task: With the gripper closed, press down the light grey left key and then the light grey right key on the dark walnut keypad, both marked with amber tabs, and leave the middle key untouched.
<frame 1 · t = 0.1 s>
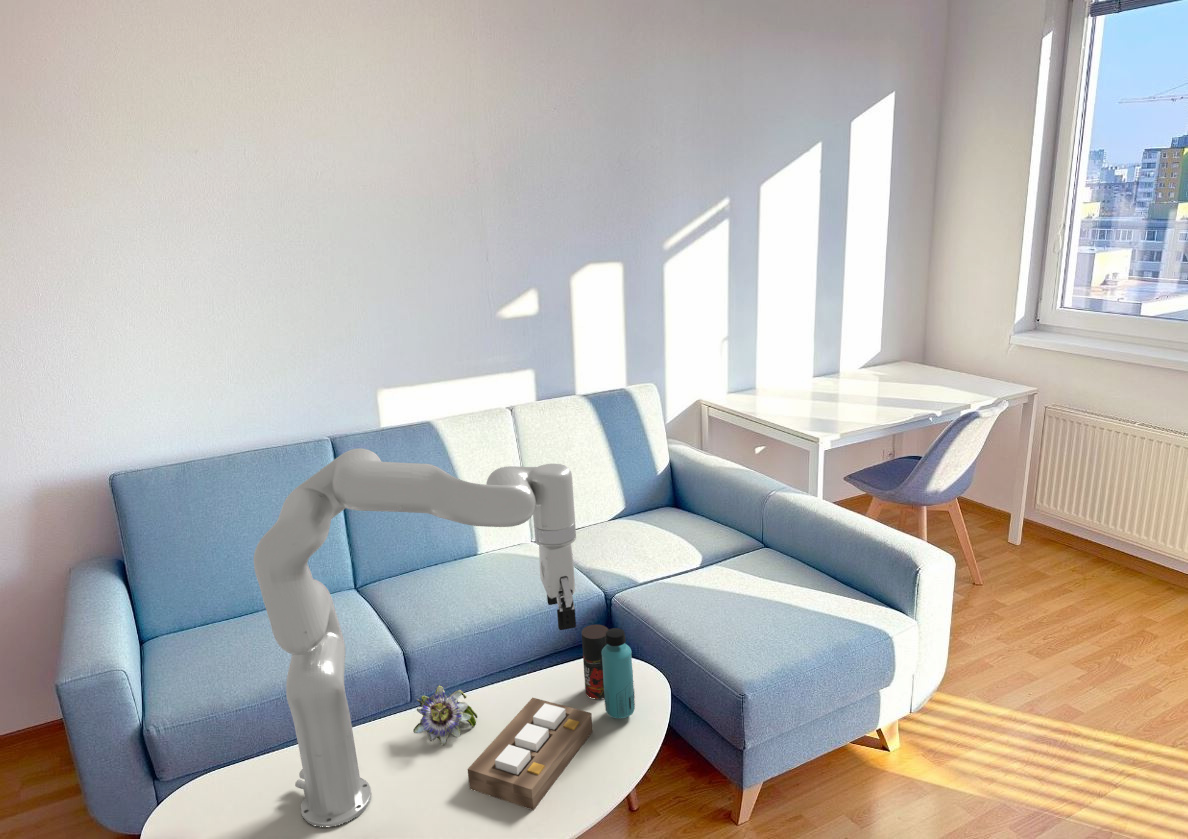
hand: (561, 615, 156), 31 cm above the table, tool pointing down, fingers open, 9 cm apart
key left: (513, 759, 157), point 5 cm above the table, slide at 0.0 cm
key right: (549, 716, 169), point 5 cm above the table, slide at 0.0 cm
key middle: (531, 737, 163), point 5 cm above the table, slide at 0.0 cm
keypad: (533, 759, 165), on the table
deodorant: (598, 692, 185), on the table
beverage bottle: (620, 716, 177), on the table
passion flower: (446, 731, 175), on the table
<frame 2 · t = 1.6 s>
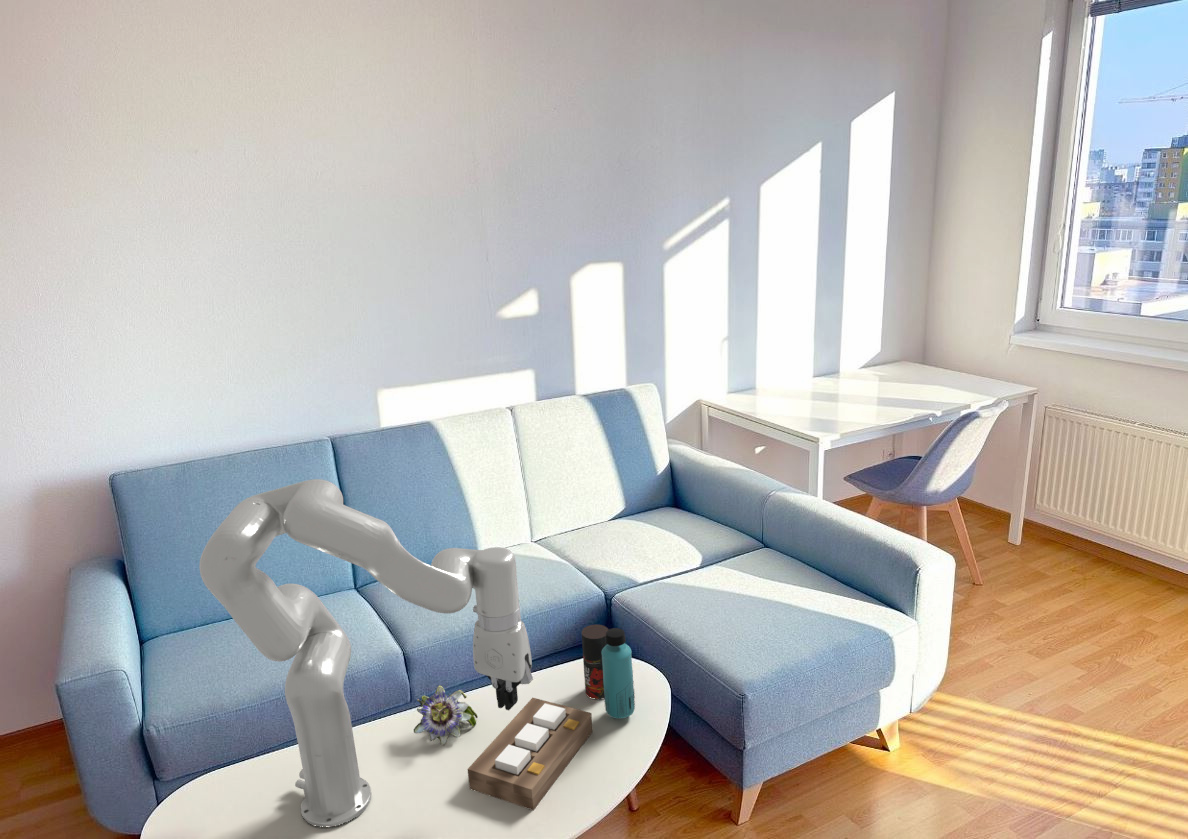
hand: (507, 704, 154), 17 cm above the table, tool pointing down, fingers closed
nothing on the table moved.
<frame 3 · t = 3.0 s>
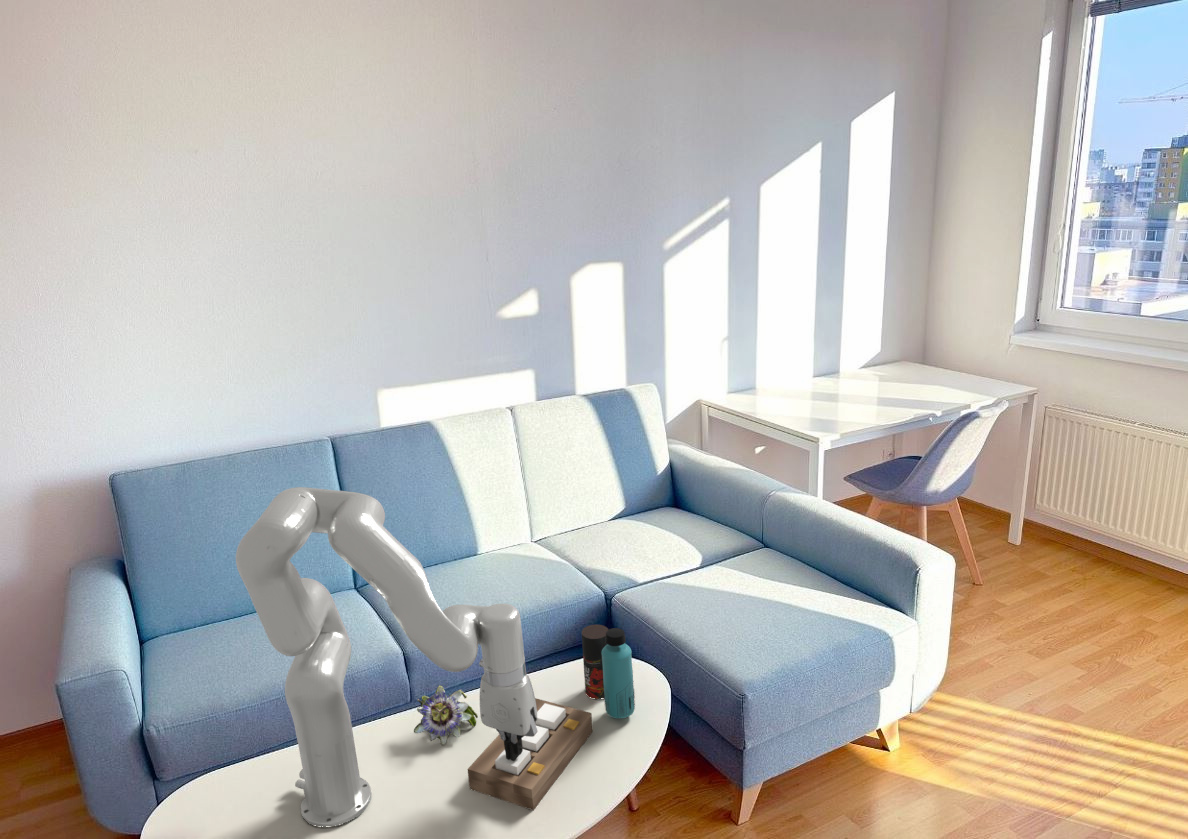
hand: (514, 755, 157), 6 cm above the table, tool pointing down, fingers closed
key left: (513, 759, 157), point 5 cm above the table, slide at 0.1 cm, touching gripper
everything else where it was.
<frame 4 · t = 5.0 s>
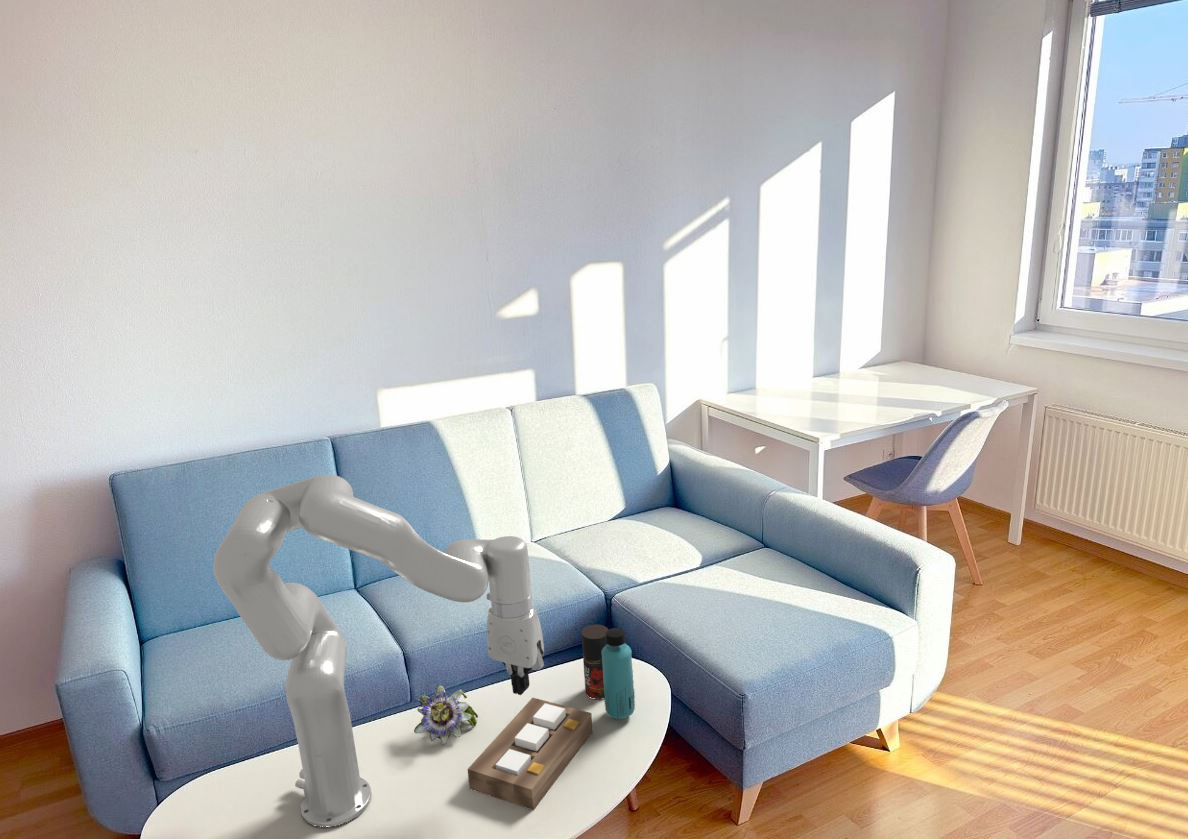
hand: (521, 690, 157), 17 cm above the table, tool pointing down, fingers closed
key left: (513, 763, 158), point 4 cm above the table, slide at 1.0 cm
everything else where it was.
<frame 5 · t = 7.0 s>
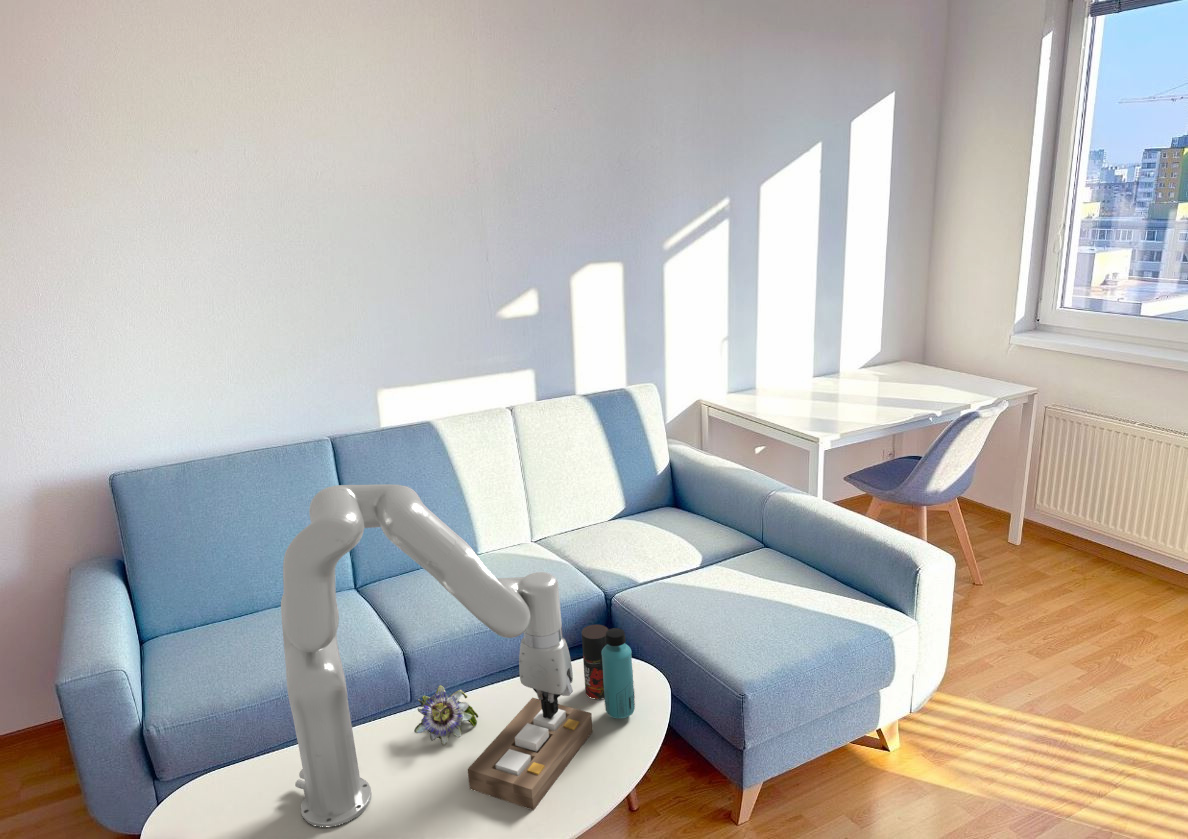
hand: (550, 714, 169), 6 cm above the table, tool pointing down, fingers closed
key right: (549, 718, 169), point 5 cm above the table, slide at 0.5 cm, touching gripper
everything else where it was.
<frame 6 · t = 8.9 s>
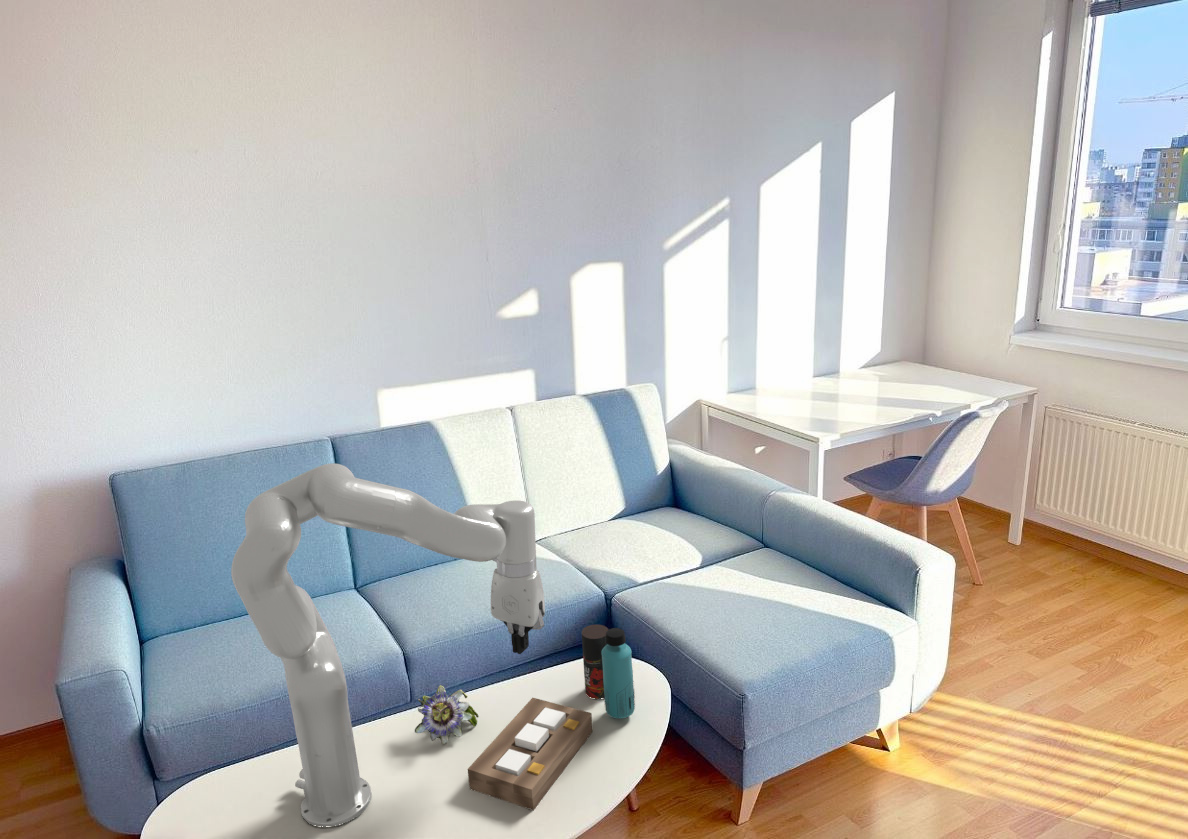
hand: (520, 649, 165), 21 cm above the table, tool pointing down, fingers closed
key right: (549, 720, 170), point 4 cm above the table, slide at 1.0 cm
everything else where it was.
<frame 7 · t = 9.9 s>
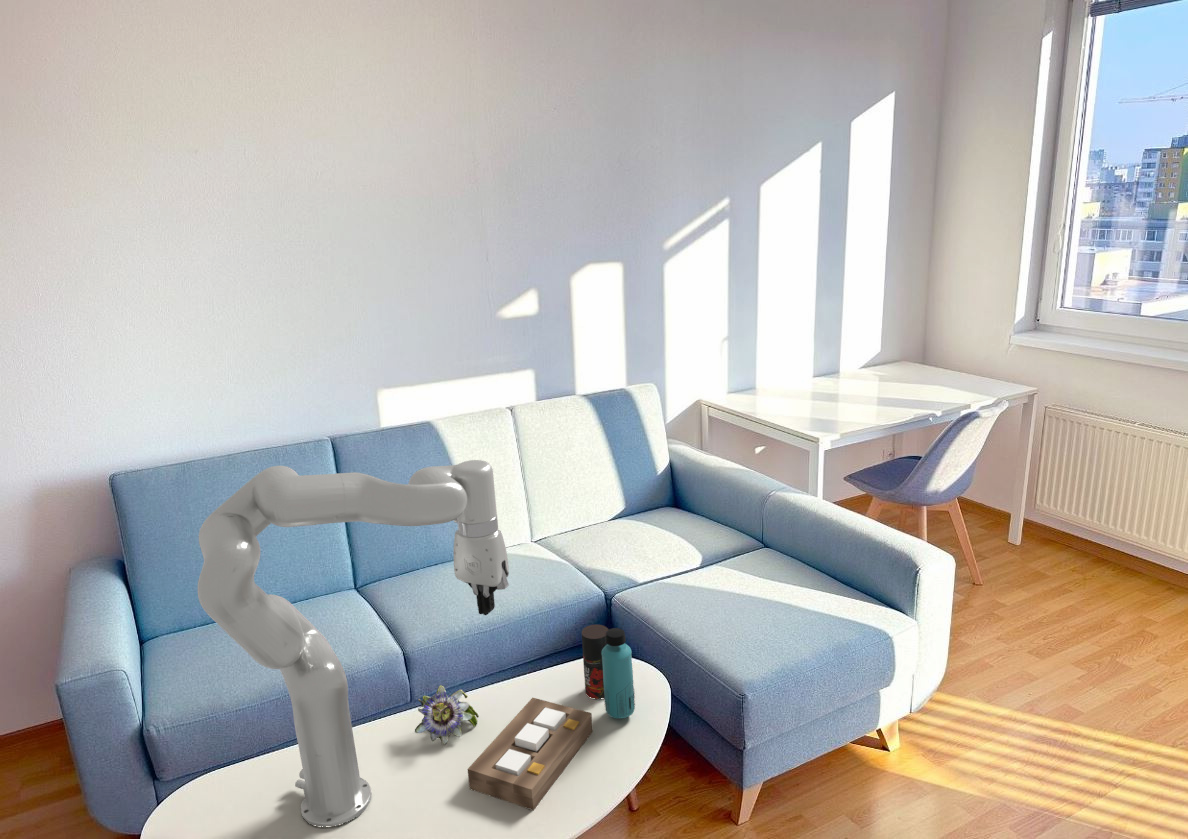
hand: (486, 611, 163), 29 cm above the table, tool pointing down, fingers closed
nothing on the table moved.
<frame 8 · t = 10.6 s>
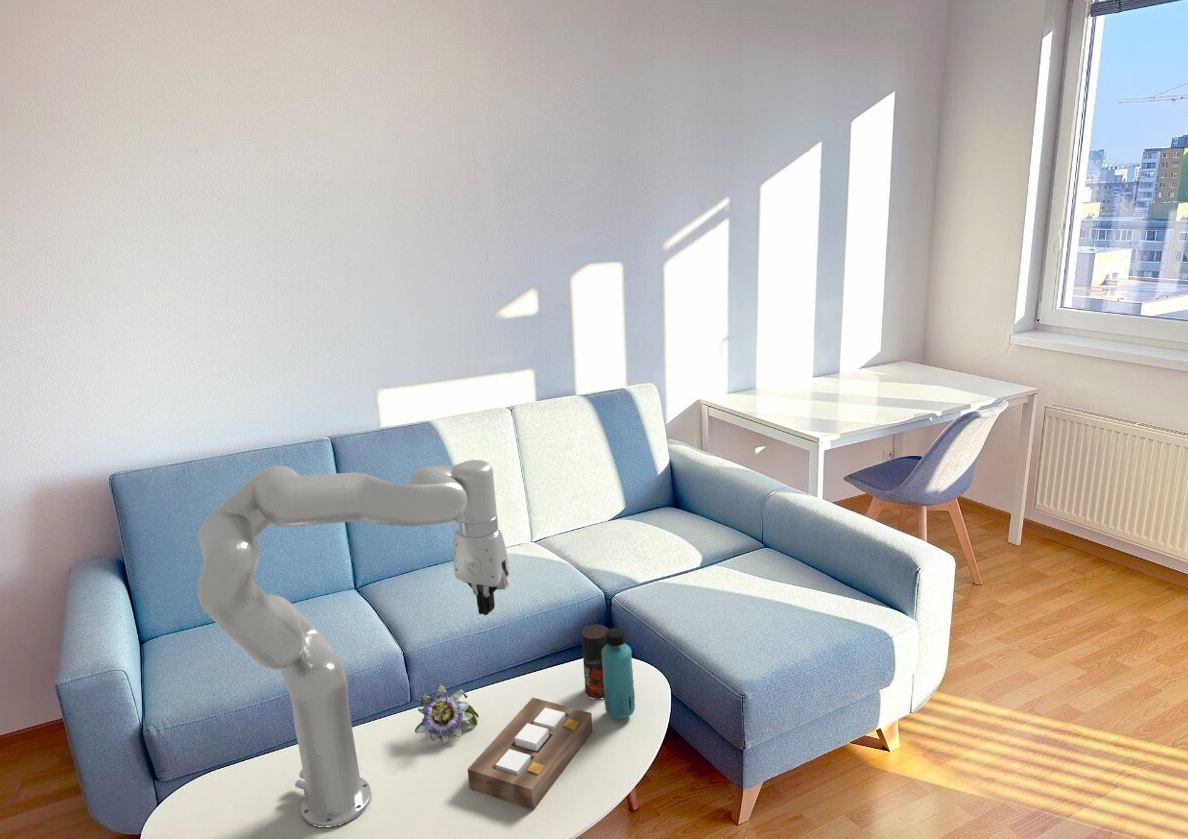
hand: (486, 611, 163), 29 cm above the table, tool pointing down, fingers closed
nothing on the table moved.
at the end: key left slide at 1.0 cm; key right slide at 1.0 cm; key middle slide at 0.0 cm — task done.
